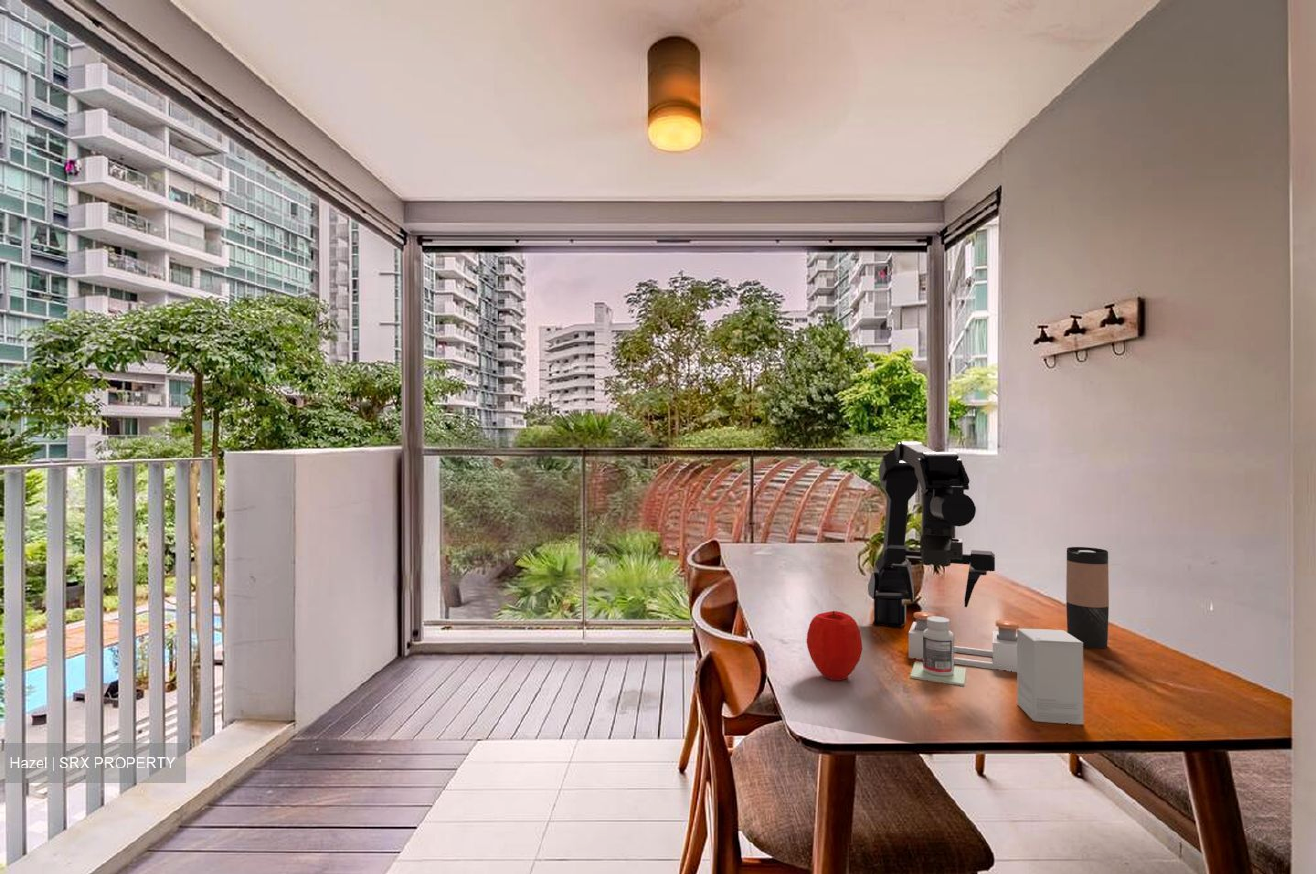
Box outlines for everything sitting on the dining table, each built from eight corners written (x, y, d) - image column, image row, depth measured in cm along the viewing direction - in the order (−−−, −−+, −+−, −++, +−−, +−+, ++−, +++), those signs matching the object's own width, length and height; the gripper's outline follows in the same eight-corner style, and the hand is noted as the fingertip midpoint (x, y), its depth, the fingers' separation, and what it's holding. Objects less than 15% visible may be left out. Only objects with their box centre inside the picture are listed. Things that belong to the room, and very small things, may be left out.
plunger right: (995, 650, 131) (995, 624, 131) (995, 644, 134) (995, 619, 134) (1019, 653, 129) (1019, 627, 129) (1018, 647, 133) (1018, 622, 133)
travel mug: (1105, 641, 147) (1105, 548, 147) (1112, 651, 140) (1111, 553, 140) (1064, 637, 150) (1064, 545, 150) (1068, 646, 143) (1068, 551, 143)
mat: (910, 678, 124) (910, 675, 124) (915, 663, 132) (915, 661, 132) (964, 686, 120) (964, 683, 120) (966, 670, 128) (966, 668, 128)
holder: (908, 657, 135) (908, 632, 135) (913, 645, 144) (913, 621, 144) (1022, 673, 127) (1022, 646, 127) (1020, 659, 135) (1020, 633, 135)
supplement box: (1085, 725, 104) (1085, 642, 104) (1032, 722, 105) (1032, 640, 105) (1065, 707, 111) (1064, 629, 111) (1015, 703, 112) (1015, 627, 112)
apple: (813, 665, 131) (813, 601, 131) (866, 672, 127) (866, 607, 127) (800, 681, 122) (800, 613, 122) (857, 690, 118) (857, 620, 118)
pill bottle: (928, 665, 130) (928, 613, 130) (958, 671, 126) (958, 618, 126) (918, 672, 126) (918, 619, 126) (948, 679, 122) (948, 624, 122)
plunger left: (912, 640, 138) (912, 615, 138) (914, 635, 141) (914, 611, 141) (934, 643, 136) (934, 618, 136) (935, 637, 139) (935, 613, 139)
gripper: (879, 521, 123) (879, 608, 123) (994, 527, 115) (995, 620, 115) (888, 515, 133) (888, 595, 133) (994, 520, 125) (994, 606, 125)
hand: (938, 604), depth 126 cm, fingers open, 9 cm apart
